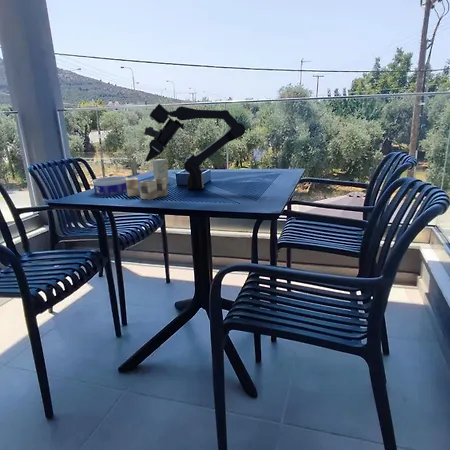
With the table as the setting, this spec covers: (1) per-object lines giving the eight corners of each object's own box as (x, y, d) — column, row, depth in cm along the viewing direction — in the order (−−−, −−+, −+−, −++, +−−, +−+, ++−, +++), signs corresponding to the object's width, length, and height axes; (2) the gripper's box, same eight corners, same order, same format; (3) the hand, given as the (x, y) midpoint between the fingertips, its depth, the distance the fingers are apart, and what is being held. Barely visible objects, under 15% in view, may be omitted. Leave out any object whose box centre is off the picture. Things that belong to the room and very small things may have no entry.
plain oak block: (139, 193, 159) (137, 177, 157) (139, 195, 155) (137, 179, 153) (127, 194, 158) (125, 178, 156) (127, 196, 153) (125, 180, 151)
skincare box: (160, 185, 174) (157, 160, 171) (154, 184, 177) (151, 160, 173) (169, 183, 179) (167, 158, 175) (163, 182, 182) (161, 158, 178)
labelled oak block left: (167, 193, 155) (166, 177, 153) (165, 196, 150) (163, 179, 148) (156, 194, 155) (154, 177, 153) (153, 196, 150) (152, 179, 148)
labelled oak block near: (157, 196, 150) (156, 179, 148) (150, 199, 145) (148, 182, 143) (148, 196, 152) (146, 179, 150) (140, 198, 147) (138, 181, 145)
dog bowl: (87, 194, 161) (85, 181, 160) (108, 188, 175) (107, 175, 173) (115, 195, 156) (113, 182, 154) (135, 188, 170) (133, 176, 168)
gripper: (155, 119, 162) (135, 146, 165) (151, 119, 144) (128, 150, 147) (175, 135, 165) (154, 161, 167) (173, 137, 147) (150, 167, 150)
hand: (147, 159), depth 158 cm, fingers open, 9 cm apart
